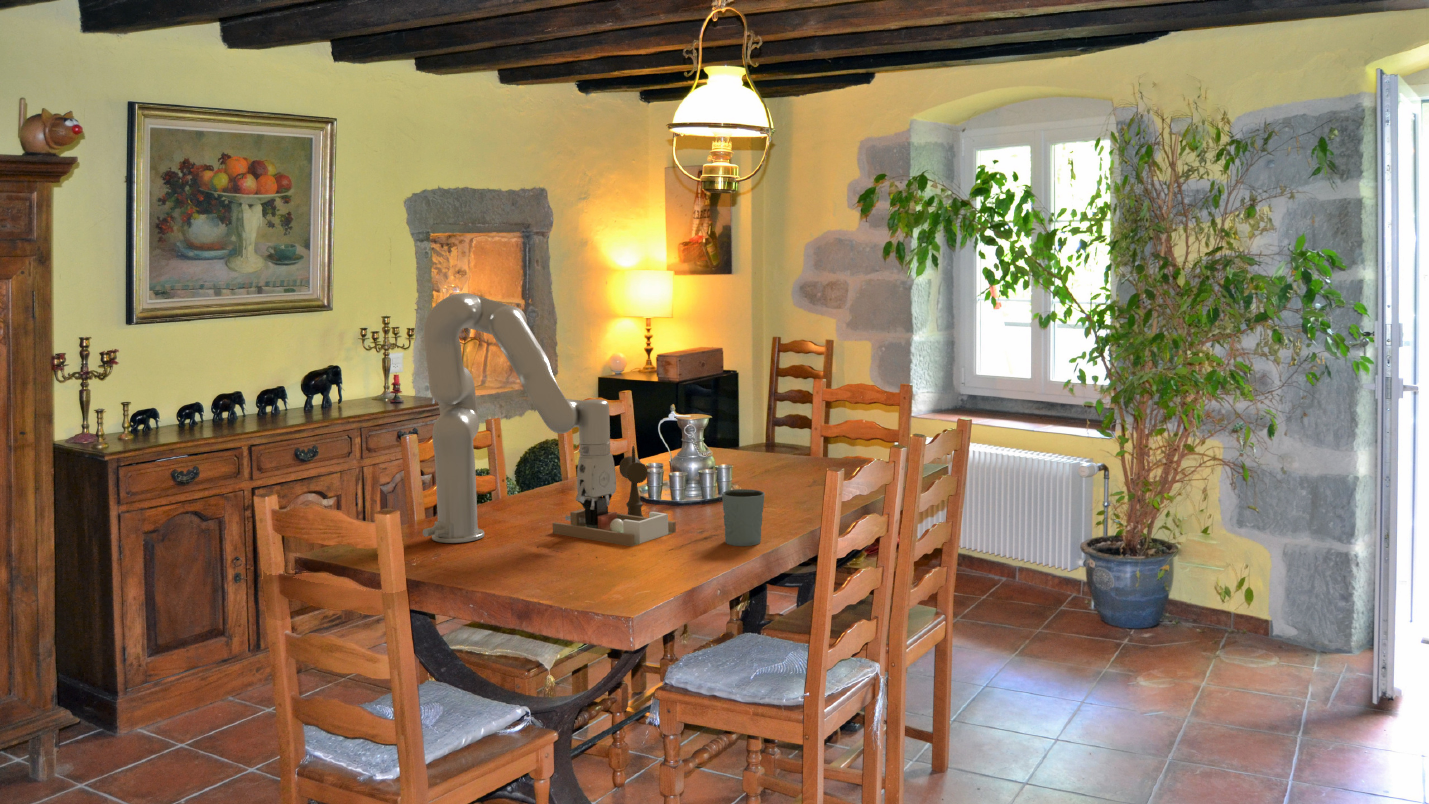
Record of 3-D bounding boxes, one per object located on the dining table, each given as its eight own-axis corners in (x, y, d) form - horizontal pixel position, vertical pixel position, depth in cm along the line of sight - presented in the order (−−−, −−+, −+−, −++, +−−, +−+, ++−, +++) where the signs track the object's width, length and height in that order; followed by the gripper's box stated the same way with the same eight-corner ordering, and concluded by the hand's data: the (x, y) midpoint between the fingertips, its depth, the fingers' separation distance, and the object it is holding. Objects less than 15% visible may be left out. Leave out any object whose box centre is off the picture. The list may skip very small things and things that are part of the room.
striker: (601, 532, 280) (600, 503, 279) (558, 525, 288) (558, 497, 287) (617, 528, 285) (616, 498, 284) (574, 521, 293) (574, 492, 292)
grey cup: (714, 543, 274) (713, 493, 273) (739, 534, 282) (738, 486, 281) (748, 549, 268) (747, 498, 267) (773, 540, 276) (772, 491, 274)
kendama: (642, 517, 304) (640, 442, 301) (650, 524, 294) (648, 447, 292) (619, 518, 302) (618, 443, 300) (627, 526, 293) (625, 449, 290)
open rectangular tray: (632, 551, 267) (631, 525, 267) (553, 537, 282) (552, 512, 281) (675, 536, 281) (675, 511, 280) (598, 524, 295) (597, 500, 295)
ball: (618, 535, 278) (617, 521, 278) (607, 533, 280) (606, 519, 280) (627, 532, 281) (627, 518, 281) (616, 530, 283) (616, 516, 283)
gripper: (583, 456, 273) (585, 531, 275) (628, 446, 287) (629, 518, 289) (560, 453, 277) (562, 527, 280) (605, 444, 291) (607, 515, 293)
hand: (596, 522), depth 284 cm, fingers closed on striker, 3 cm apart
